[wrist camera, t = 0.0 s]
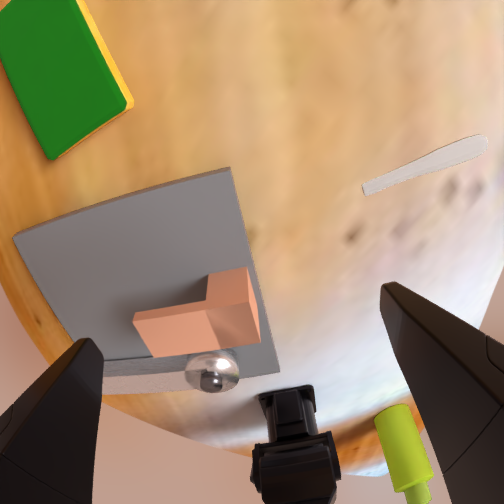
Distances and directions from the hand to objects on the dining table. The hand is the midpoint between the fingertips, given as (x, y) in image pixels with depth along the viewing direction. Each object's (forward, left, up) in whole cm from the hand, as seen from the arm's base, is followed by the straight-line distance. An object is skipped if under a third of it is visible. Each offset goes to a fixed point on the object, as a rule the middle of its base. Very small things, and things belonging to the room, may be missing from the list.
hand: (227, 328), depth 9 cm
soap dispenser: (-39, -15, -15) cm, 45 cm away
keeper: (-9, +5, -14) cm, 17 cm away
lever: (-16, +13, -13) cm, 25 cm away
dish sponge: (+13, +10, -15) cm, 22 cm away
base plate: (-10, +10, -15) cm, 20 cm away
